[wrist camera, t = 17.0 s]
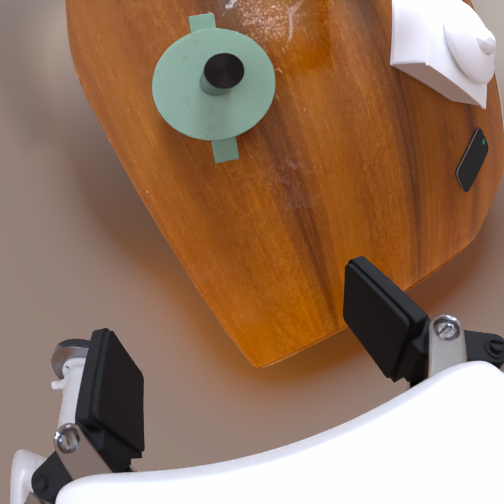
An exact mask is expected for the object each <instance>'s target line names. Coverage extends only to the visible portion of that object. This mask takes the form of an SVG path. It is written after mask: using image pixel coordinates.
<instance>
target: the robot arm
mask: <svg viewBox="0 0 504 504" xmlns="http://www.w3.org/2000/svg"><path fill="white" fill-rule="evenodd" d="M343 317H344V320H345V322H346V324H347V325H348V326H349V328H350V329H351V330H352V331H353V333H354V334H355V335H356V337H357V338H358V340H359V341H360V342H361V344H362V345H363V346H364V348H365V349H366V350H367V352H368V353H369V354H370V356H371V357H372V359H373V360H374V361H375V363H376V364H377V365H378V367H379V368H380V369H381V371H382V372H383V374H384V375H385V376H386V377H387V378H391V379H392V380H393V382H396V381H398V380H400V379H401V378H403V377H404V378H405V379H406V380H407V389H406V392H404V393H402V394H401V395H399V396H397V397H395V398H393V399H392V400H390V401H388V402H386V403H384V404H382V405H380V406H379V407H377V408H375V409H373V410H371V411H369V412H367V413H365V414H363V415H361V416H359V417H357V418H355V419H353V420H350V421H348V422H346V423H343V424H341V425H339V426H337V427H334V428H332V429H329V430H327V431H325V432H322V433H319V434H317V435H314V436H312V437H309V438H306V439H304V440H301V441H298V442H295V443H292V444H289V445H286V446H283V447H279V448H276V449H273V450H270V451H266V452H262V453H259V454H255V455H251V456H247V457H243V458H239V459H234V460H229V461H224V462H220V463H214V464H208V465H203V466H196V467H189V468H181V469H172V470H161V471H148V472H137V471H136V470H135V468H134V467H132V465H131V459H132V458H142V451H144V448H145V445H144V417H143V416H144V413H143V394H144V388H143V387H144V378H143V375H142V373H141V371H140V370H139V368H138V367H137V366H136V364H135V363H134V361H133V360H132V359H131V357H130V356H129V354H128V353H127V352H126V350H125V348H124V347H123V345H122V344H121V343H120V341H119V339H118V338H117V336H116V335H115V333H114V332H113V331H110V330H109V329H107V328H104V329H99V330H95V331H94V332H93V333H92V337H91V340H90V344H89V348H88V352H87V356H86V358H80V357H77V358H71V359H68V360H67V361H66V362H65V363H64V365H63V369H62V371H63V375H64V379H62V380H61V381H53V382H52V383H51V385H52V388H53V389H54V390H58V389H63V391H62V392H63V394H64V396H63V401H62V406H61V412H60V416H59V423H58V429H57V431H56V433H55V435H54V447H55V450H56V451H55V452H54V453H53V454H52V455H51V456H50V457H49V458H45V457H43V456H41V455H38V454H36V453H33V452H31V451H28V450H23V449H21V450H18V451H17V452H16V453H15V456H14V459H13V463H12V471H11V487H10V504H504V339H503V338H502V337H501V336H499V335H496V334H490V333H481V332H474V331H467V330H464V329H463V326H462V324H461V323H460V321H459V320H458V319H456V318H455V317H453V316H451V315H447V314H440V315H437V316H435V317H434V318H432V320H431V319H430V318H429V317H428V315H427V314H426V313H425V312H424V311H423V310H422V309H421V308H420V307H419V306H418V305H417V304H416V303H415V302H414V301H413V300H411V299H410V298H409V297H408V296H407V295H406V294H405V293H404V292H403V291H402V290H401V289H400V288H399V287H397V286H396V285H395V284H394V283H393V282H392V281H391V280H390V279H389V278H388V277H386V276H385V275H384V274H383V273H382V272H381V271H380V270H379V269H377V268H376V267H375V266H374V265H373V264H372V263H370V262H369V261H368V260H367V259H366V258H365V257H363V256H360V257H357V258H354V259H351V260H349V262H348V265H346V266H345V285H344V306H343Z"/></svg>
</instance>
